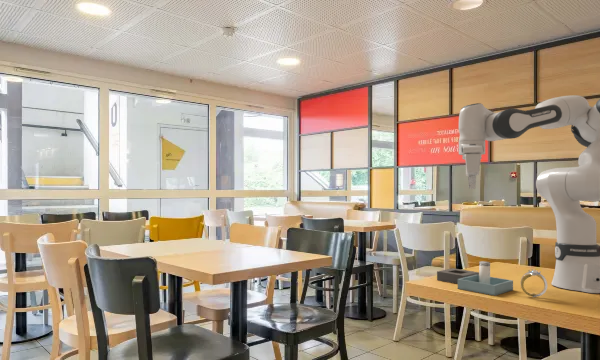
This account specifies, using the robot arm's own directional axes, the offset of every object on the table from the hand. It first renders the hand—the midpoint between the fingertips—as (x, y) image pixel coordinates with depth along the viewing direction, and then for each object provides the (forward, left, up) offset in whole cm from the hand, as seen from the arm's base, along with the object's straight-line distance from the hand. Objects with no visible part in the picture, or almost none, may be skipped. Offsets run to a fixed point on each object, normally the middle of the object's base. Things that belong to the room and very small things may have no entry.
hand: (472, 188), depth 158 cm
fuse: (+1, +16, -31) cm, 35 cm away
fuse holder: (+6, +3, -32) cm, 32 cm away
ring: (-10, +25, -32) cm, 42 cm away
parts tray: (+1, +16, -32) cm, 36 cm away
